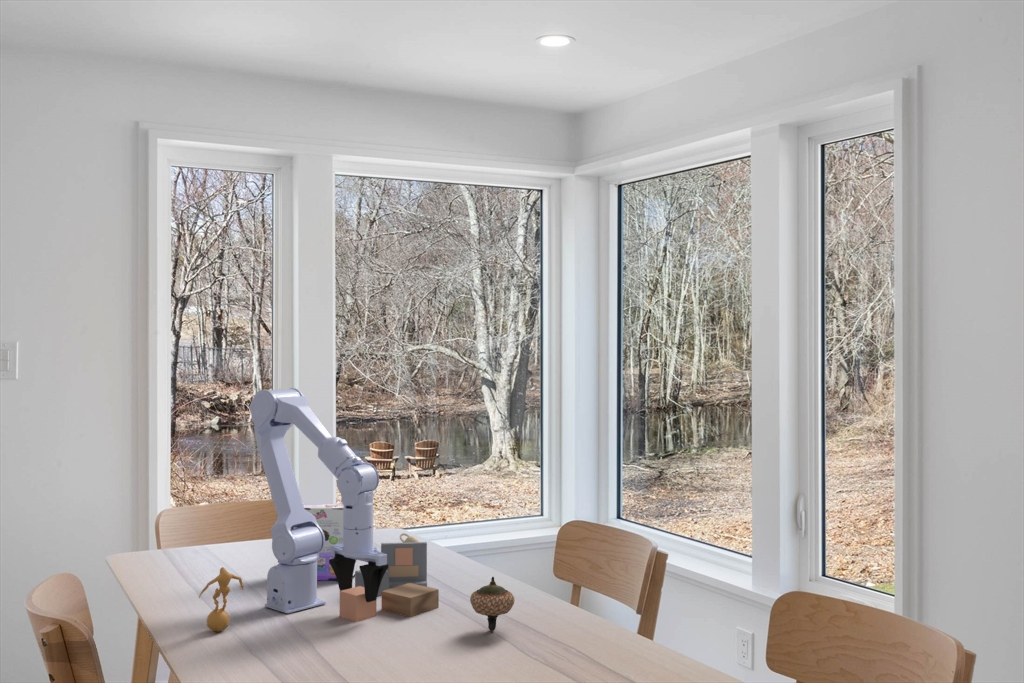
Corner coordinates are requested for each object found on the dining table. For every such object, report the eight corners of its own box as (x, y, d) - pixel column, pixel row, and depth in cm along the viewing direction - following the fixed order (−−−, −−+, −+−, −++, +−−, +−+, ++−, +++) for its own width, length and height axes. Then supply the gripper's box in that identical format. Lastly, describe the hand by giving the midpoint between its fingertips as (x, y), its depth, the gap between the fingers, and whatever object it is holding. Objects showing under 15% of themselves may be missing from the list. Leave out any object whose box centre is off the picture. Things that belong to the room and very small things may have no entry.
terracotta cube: (356, 622, 170) (356, 595, 170) (339, 616, 173) (339, 591, 173) (376, 616, 173) (376, 590, 173) (359, 611, 177) (359, 586, 177)
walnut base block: (410, 618, 172) (410, 598, 172) (381, 611, 177) (381, 591, 177) (438, 609, 179) (438, 589, 179) (409, 602, 184) (409, 582, 184)
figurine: (234, 624, 168) (235, 560, 168) (249, 631, 163) (249, 565, 163) (191, 633, 162) (191, 567, 162) (204, 641, 158) (205, 573, 158)
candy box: (357, 575, 205) (357, 503, 205) (349, 581, 199) (350, 507, 199) (299, 573, 206) (299, 502, 206) (290, 580, 200) (290, 506, 201)
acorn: (501, 641, 158) (501, 584, 158) (461, 634, 162) (461, 579, 162) (522, 628, 166) (522, 574, 166) (483, 622, 169) (483, 569, 169)
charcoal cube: (370, 599, 185) (370, 575, 185) (355, 595, 188) (355, 571, 188) (388, 594, 189) (388, 570, 189) (373, 590, 192) (373, 567, 192)
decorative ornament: (412, 561, 218) (412, 539, 219) (397, 554, 226) (397, 533, 226) (426, 559, 221) (426, 537, 221) (411, 553, 228) (411, 531, 228)
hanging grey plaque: (426, 586, 195) (427, 545, 195) (380, 588, 193) (380, 546, 193) (426, 579, 200) (426, 539, 201) (381, 581, 199) (381, 540, 199)
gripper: (398, 528, 172) (399, 599, 171) (350, 519, 181) (350, 586, 181) (370, 534, 166) (370, 607, 166) (322, 524, 176) (322, 594, 175)
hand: (358, 597), depth 173 cm, fingers open, 7 cm apart
